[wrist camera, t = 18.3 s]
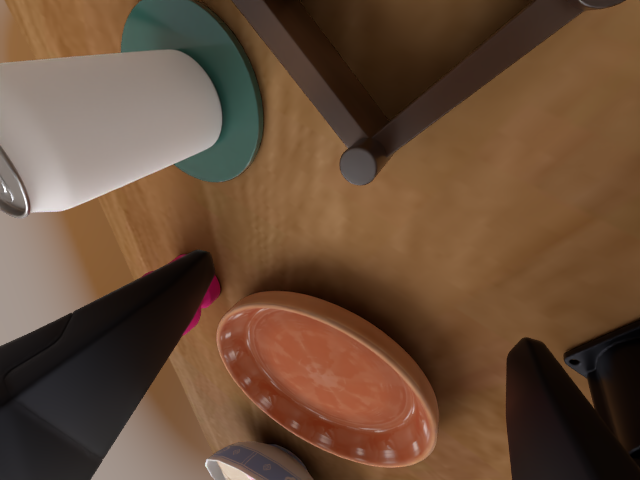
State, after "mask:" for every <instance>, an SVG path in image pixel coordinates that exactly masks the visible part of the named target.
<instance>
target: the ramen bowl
mask: <svg viewBox="0 0 640 480" xmlns="http://www.w3.org/2000/svg"><path fill="white" fill-rule="evenodd" d="M205 466H206V468H207V469H208V471H209V472H210V474H211V476H212V477H213V478H214V479H215V480H313V478H312V477H311V475H310V474H309V473H308V471H307V469H306V467H305V465H304V464H303V462H302V461H301V460H300V459H299V458H298V457H297V456H296V455H294V454H293V453H292V452H290V451H289V450H287V449H285V448H283V447H281V446H279V445H276V444H265V443H260V442H238V443H235V444H232V445H229V446H227V447H225V448H223V449H221V450H219V451H218V452H216V453H215V454H213V455H212V456H211V457H209V458H208V459H207V460H206V464H205Z"/></svg>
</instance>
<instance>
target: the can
mask: <svg viewBox="0 0 640 480" xmlns="http://www.w3.org/2000/svg"><path fill="white" fill-rule="evenodd" d="M221 127H222V106H221V102H220V98H219V95H218V92H217V90H216V88H215V86H214V84H213V82H212V80H211V79H210V77H209V76H208V74H207V73H206V72H205V70H204V69H203V68H202V67H201V66H200V65H199V64H198V63H197V62H196V61H195V60H194V59H192V58H191V57H190V56H188V55H187V54H185V53H183V52H180V51H177V50H151V51H138V52H125V53H113V54H101V55H89V56H77V57H65V58H53V59H41V60H30V61H20V62H7V63H0V210H1V211H3V212H4V213H6V214H8V215H10V216H12V217H15V218H25V217H27V216H28V215H29V213H32V212H56V211H64V210H67V209H70V208H72V207H75V206H77V205H80V204H82V203H85V202H87V201H89V200H92V199H94V198H97V197H99V196H101V195H104V194H106V193H108V192H110V191H113V190H115V189H117V188H120V187H122V186H124V185H127V184H129V183H131V182H134V181H136V180H138V179H140V178H143V177H145V176H147V175H150V174H152V173H154V172H156V171H159V170H161V169H163V168H166V167H168V166H170V165H172V164H175V163H177V162H179V161H182V160H184V159H186V158H188V157H191V156H193V155H195V154H197V153H199V152H202V151H204V150H206V149H208V148H210V147H211V146H212V145H214V143H215V142H216V141H217V139H218V137H219V135H220V132H221Z"/></svg>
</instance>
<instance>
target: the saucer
mask: <svg viewBox="0 0 640 480" xmlns="http://www.w3.org/2000/svg"><path fill="white" fill-rule="evenodd" d="M217 345H218V350H219V353H220V356H221V359H222V361H223V363H224V365H225V367H226V369H227V370H228V372H229V374H230V375H231V377H232V378H233V379H234V381H235V382H236V383H237V385H238V386H239V387H240V388H241V390H242V391H243V392H244V393H245V394H246V395H247V396H248V397H249V398H250V399H251V400H252V401H253V402H254V403H255V404H256V405H257V406H258V407H259V408H260V409H261V410H262V411H264V412H265V413H266V414H267V415H268V416H269V417H271V418H272V419H273V420H274V421H276V422H277V423H278V424H280V425H281V426H283V427H284V428H286V429H287V430H289V431H290V432H292V433H293V434H295V435H296V436H298V437H300V438H301V439H303V440H305V441H307V442H308V443H310V444H312V445H314V446H316V447H318V448H320V449H322V450H324V451H327V452H329V453H332V454H334V455H336V456H339V457H342V458H345V459H347V460H351V461H354V462H358V463H362V464H366V465H371V466H378V467H388V468H390V467H404V466H409V465H413V464H416V463H418V462H420V461H422V460H423V459H425V458H426V457H427V456H428V455H429V454H430V453H431V452H432V451H433V449H434V447H435V444H436V441H437V436H438V424H439V409H438V403H437V400H436V396H435V393H434V391H433V389H432V386H431V385H430V383H429V381H428V379H427V378H426V376H425V374H424V373H423V371H422V370H421V369H420V367H419V366H418V365H417V363H416V362H415V361H414V360H413V359H412V358H411V356H410V355H409V354H408V353H407V352H406V351H405V350H404V349H403V348H402V347H400V346H399V345H398V344H397V343H396V342H395V341H394V340H393V339H391V338H390V337H389V336H388V335H386V334H385V333H384V332H382V331H381V330H380V329H378V328H377V327H376V326H374V325H373V324H371V323H370V322H368V321H366V320H365V319H363V318H361V317H360V316H358V315H356V314H354V313H352V312H350V311H348V310H346V309H344V308H342V307H340V306H337V305H335V304H333V303H330V302H327V301H325V300H322V299H319V298H316V297H312V296H309V295H305V294H300V293H294V292H287V291H265V292H259V293H255V294H251V295H249V296H247V297H245V298H243V299H241V300H240V301H238V302H237V303H236V304H235V305H234V306H233V307H232V308H231V309H230V310H229V311H228V312H227V313H226V314H225V315H224V317H223V318H222V319H221V321H220V323H219V326H218V329H217Z"/></svg>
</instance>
